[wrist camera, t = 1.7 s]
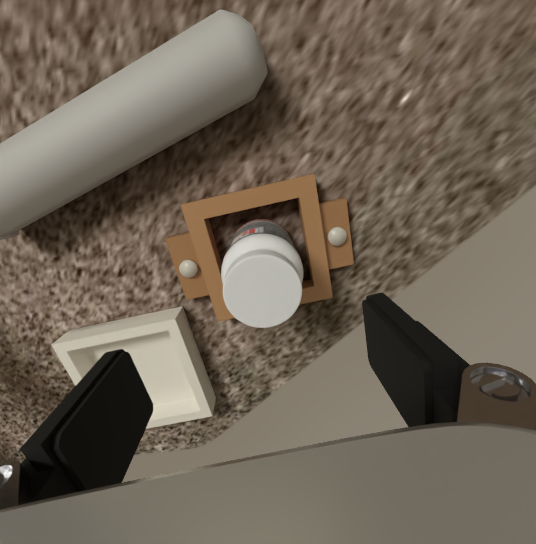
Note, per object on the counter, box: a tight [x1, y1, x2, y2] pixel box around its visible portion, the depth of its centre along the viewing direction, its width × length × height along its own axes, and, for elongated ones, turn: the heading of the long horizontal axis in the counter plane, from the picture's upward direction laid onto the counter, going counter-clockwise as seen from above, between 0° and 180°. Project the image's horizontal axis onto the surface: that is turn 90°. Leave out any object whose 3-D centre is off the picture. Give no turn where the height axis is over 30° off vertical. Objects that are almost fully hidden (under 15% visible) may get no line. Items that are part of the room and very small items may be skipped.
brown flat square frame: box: [165, 174, 354, 321], centre depth 24 cm, size 16×11×2 cm
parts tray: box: [52, 306, 216, 429], centre depth 27 cm, size 12×12×2 cm
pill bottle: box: [221, 219, 303, 328], centre depth 20 cm, size 6×6×10 cm
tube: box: [0, 9, 268, 240], centre depth 19 cm, size 5×5×25 cm
